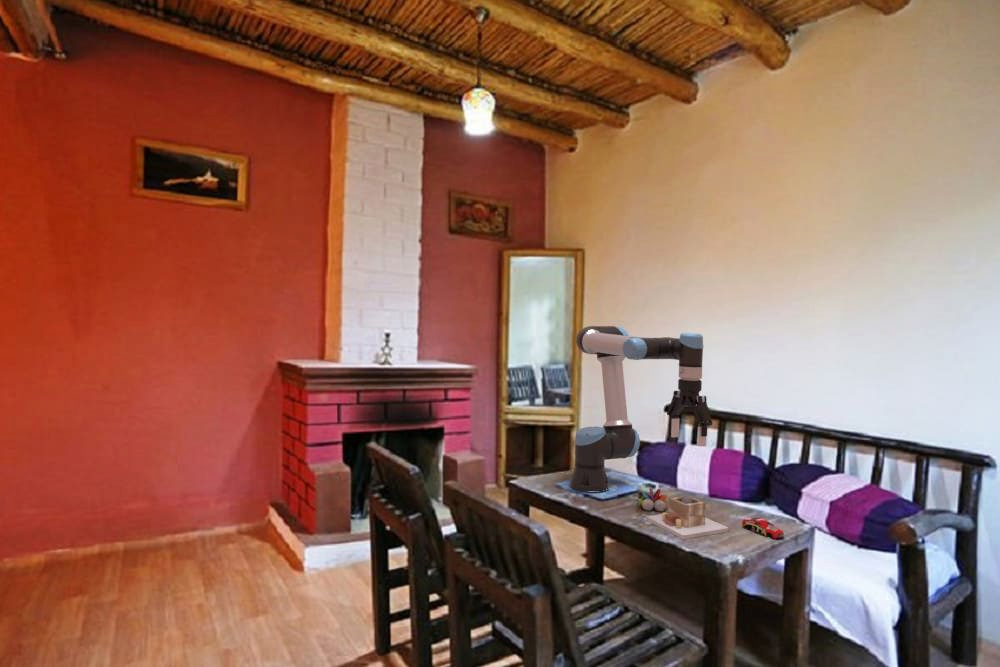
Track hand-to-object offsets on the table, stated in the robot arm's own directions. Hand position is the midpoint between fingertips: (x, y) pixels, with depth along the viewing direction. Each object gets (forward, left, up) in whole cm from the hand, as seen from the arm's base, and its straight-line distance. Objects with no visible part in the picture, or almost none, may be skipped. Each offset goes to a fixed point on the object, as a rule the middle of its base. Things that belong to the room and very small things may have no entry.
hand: (687, 441), depth 192 cm
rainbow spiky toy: (-11, -6, -26) cm, 28 cm away
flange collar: (+8, -8, -24) cm, 27 cm away
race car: (+21, +12, -26) cm, 35 cm away
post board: (+8, -6, -25) cm, 27 cm away
